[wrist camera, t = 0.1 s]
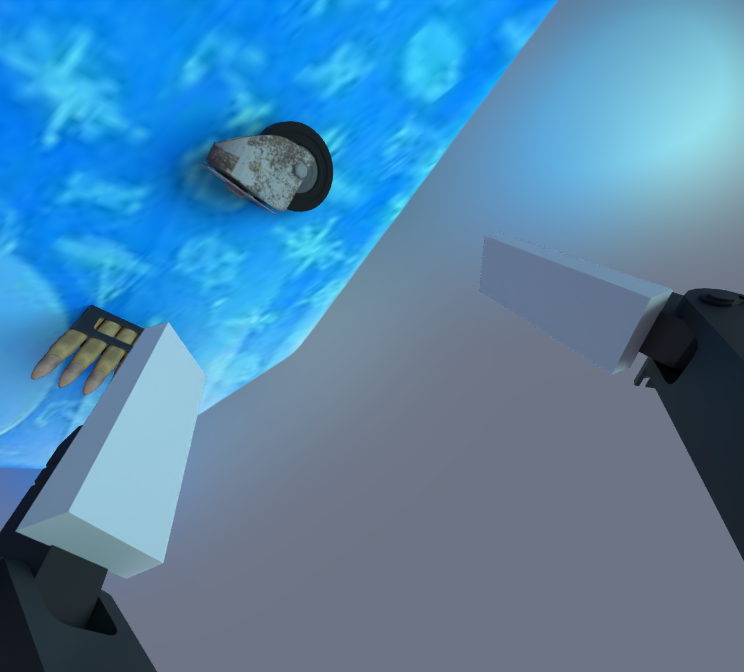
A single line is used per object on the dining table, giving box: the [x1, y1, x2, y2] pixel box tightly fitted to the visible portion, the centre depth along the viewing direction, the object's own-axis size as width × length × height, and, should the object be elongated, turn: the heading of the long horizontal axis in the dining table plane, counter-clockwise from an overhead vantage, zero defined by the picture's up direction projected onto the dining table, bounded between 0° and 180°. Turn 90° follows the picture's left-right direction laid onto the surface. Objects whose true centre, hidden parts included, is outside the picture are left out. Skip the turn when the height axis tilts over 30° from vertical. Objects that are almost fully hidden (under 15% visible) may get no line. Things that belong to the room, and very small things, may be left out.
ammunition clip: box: [31, 305, 144, 395], centre depth 31 cm, size 11×2×12 cm, turn 43°
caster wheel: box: [198, 121, 333, 215], centre depth 29 cm, size 7×11×10 cm
